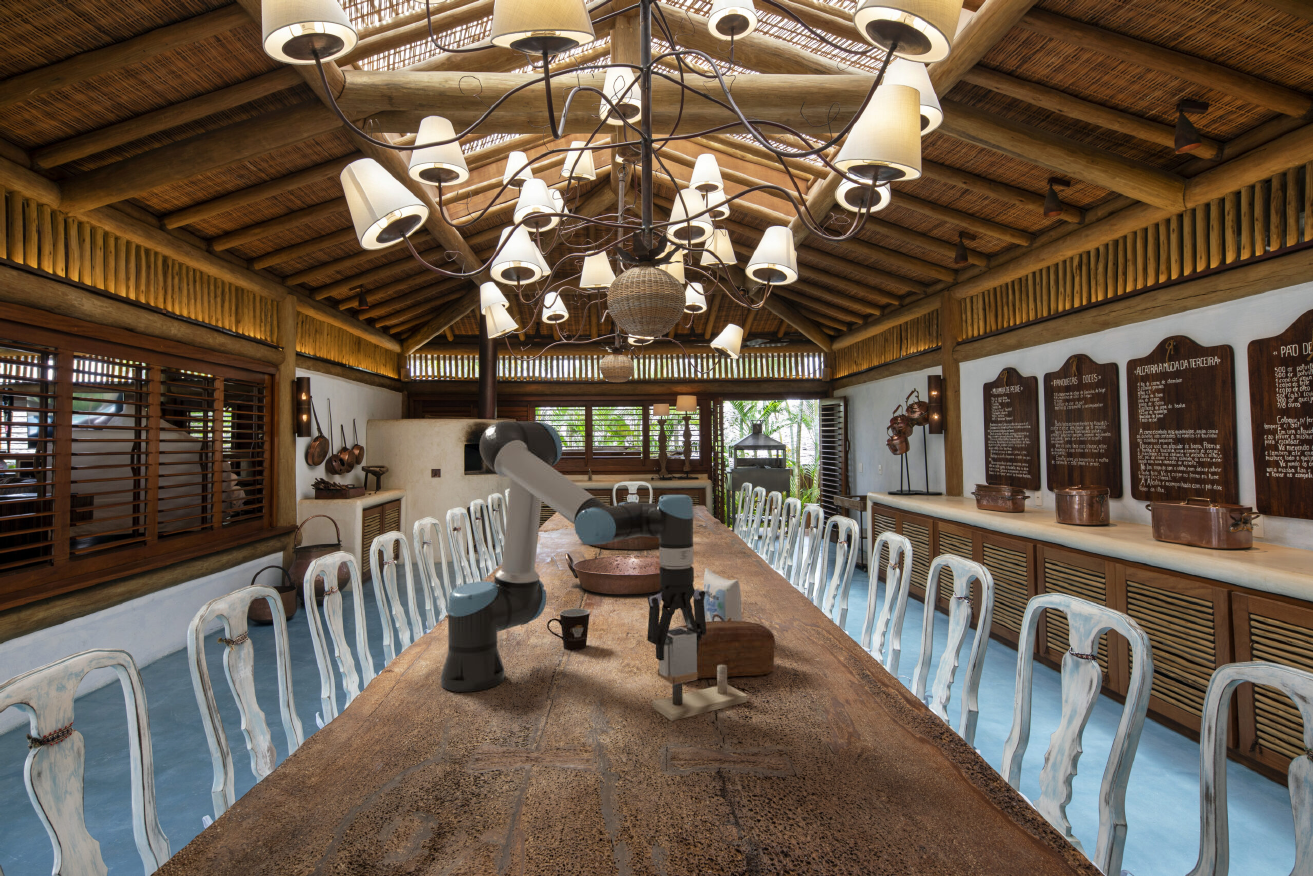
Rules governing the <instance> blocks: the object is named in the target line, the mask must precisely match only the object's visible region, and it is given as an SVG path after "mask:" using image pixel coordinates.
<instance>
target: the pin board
mask: <svg viewBox="0 0 1313 876" xmlns="http://www.w3.org/2000/svg"><path fill="white" fill-rule="evenodd" d="M716 679H717V685H715V686H711V687H707V688H703V689H698V690H694V691H689V692H687V693H683V692H684V691H683V683H680V684H675V685H673V684H671V685H672V688H671V689H672V691H671V692H672V696H669V697H664V698H660V699H655V700H652V709H653V710H655V711H657V712H658V713H659V714H661V715H662V716H663V717H665V718H667V719H668V720H669V721H671V722H672V721H673V722H674V721H677V720H681V719H685V718H688V717H692V716H693V717H694V716H697V715H700V714H704V713H708V712H709V713H710V712H713V711H716V710H719V709H720V710H721V709H724V708H728V707H731V706H736V705H739V704H740V705H741V704H743V703H747V702H748V694H746V693H744V692H742V691H740V690H738V689H737V688H735V687H732V686H731V685H729V684H728V677H727V666H726V665H718V666H717V678H716Z"/></svg>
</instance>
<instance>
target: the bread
mask: <svg viewBox="0 0 1313 876" xmlns="http://www.w3.org/2000/svg"><path fill="white" fill-rule="evenodd" d="M678 627H683V628H686V629H687V626H686V624H684V625H679V626H675V628H678ZM775 645H776V638H775V636H774V633H773V631H771V630H770V629H769V628H768V627H766V626H765V625H763V624H761V623H756V622H752V621H746V620H745V621H744V620H742V621H710V622H706V634H705V635H702V638H701V640H699V651H698V653H697V672H698V679H710V678H714V679H715V678H716V679H717V666H718V665H726V666H727V678H731V677H739V676H741V677H743V676H763V675H767V674H771V672H772V671H773V670H774V666H775Z"/></svg>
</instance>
